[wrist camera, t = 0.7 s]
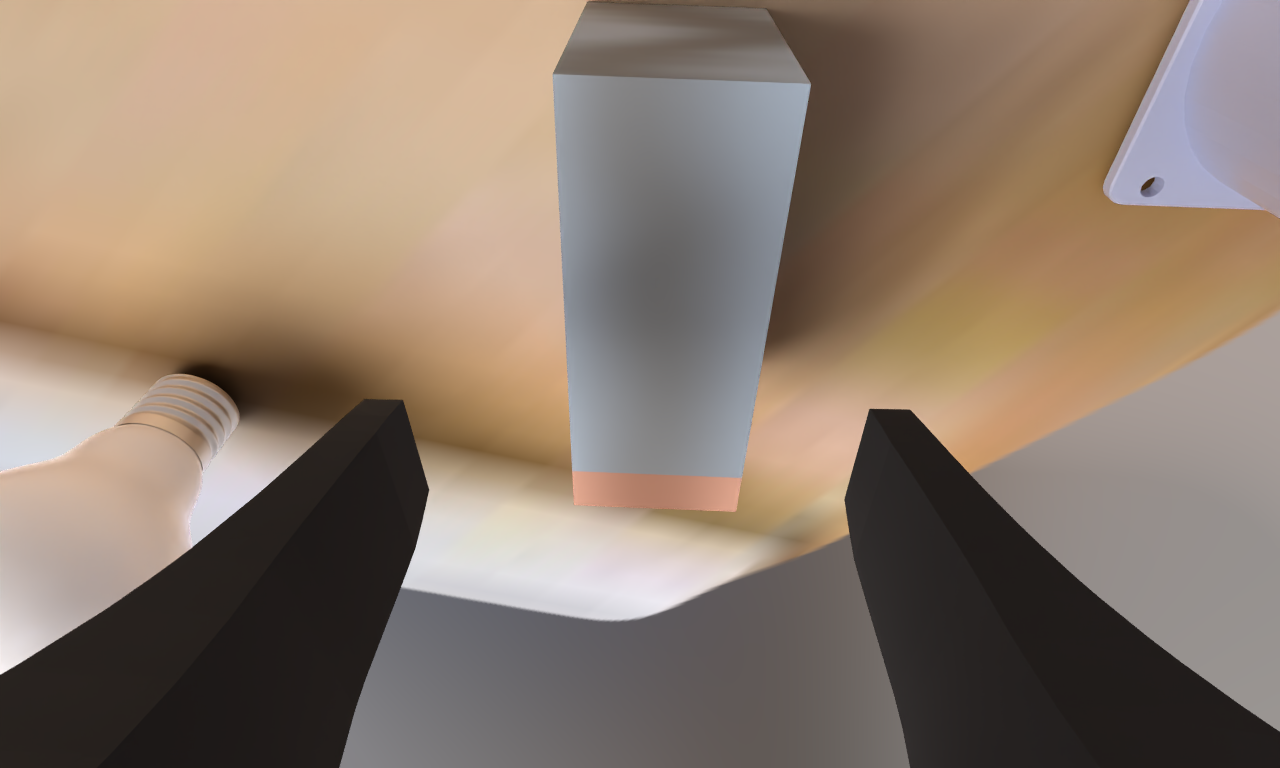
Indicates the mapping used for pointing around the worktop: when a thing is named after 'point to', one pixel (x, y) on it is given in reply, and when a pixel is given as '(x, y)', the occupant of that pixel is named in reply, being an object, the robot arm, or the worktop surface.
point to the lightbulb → (104, 513)
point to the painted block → (671, 241)
